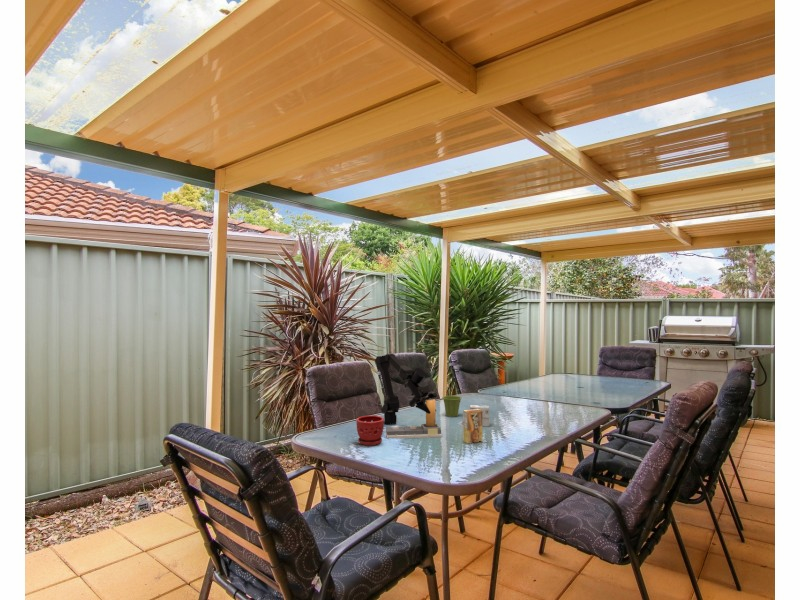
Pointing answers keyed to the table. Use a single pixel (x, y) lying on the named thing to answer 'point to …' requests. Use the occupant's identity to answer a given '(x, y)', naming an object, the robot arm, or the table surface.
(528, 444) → the table surface
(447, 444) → the table surface
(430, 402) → the cap
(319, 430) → the table surface
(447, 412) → the plant pot
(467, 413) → the candy box
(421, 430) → the breaker panel
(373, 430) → the plant pot
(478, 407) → the light bulb box
